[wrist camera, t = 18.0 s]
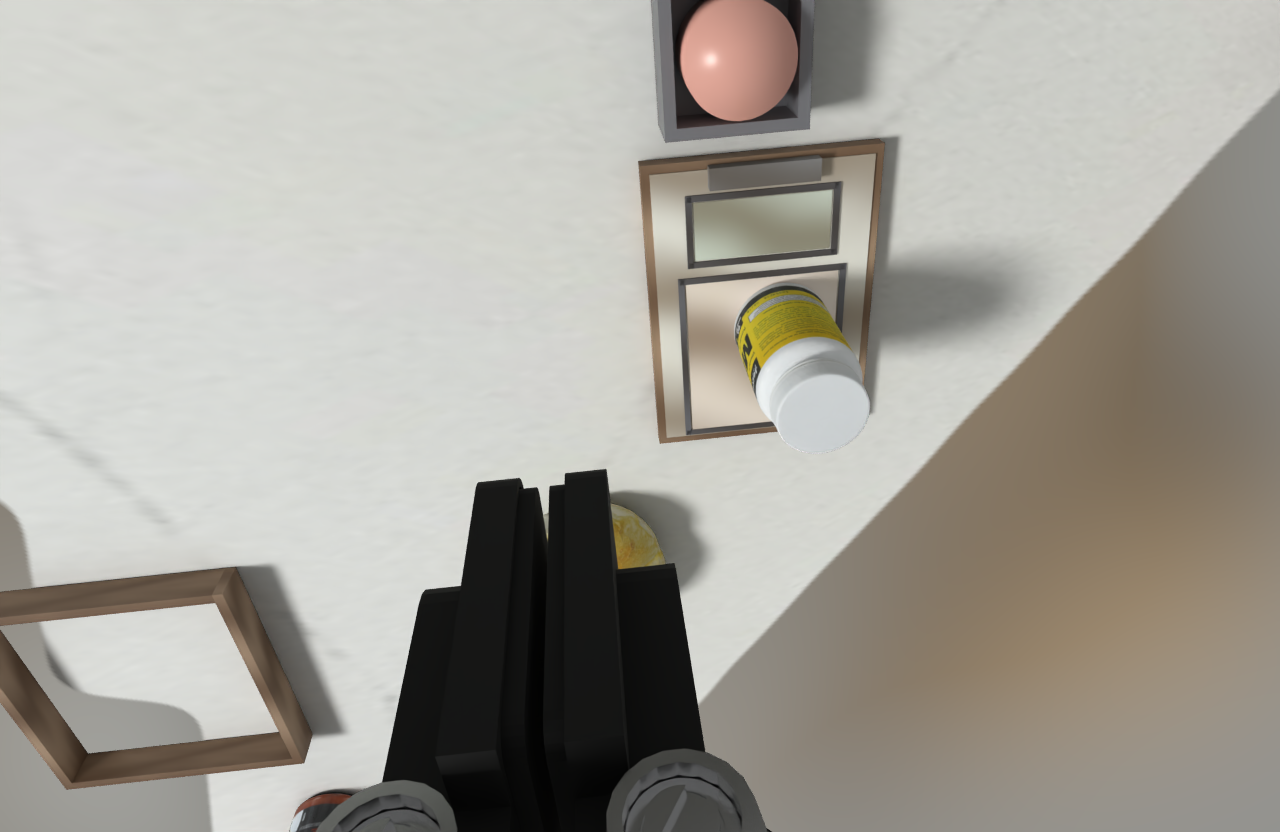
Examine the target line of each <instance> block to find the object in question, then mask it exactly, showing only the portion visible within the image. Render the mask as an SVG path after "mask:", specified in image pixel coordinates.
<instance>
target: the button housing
mask: <svg viewBox="0 0 1280 832" xmlns="http://www.w3.org/2000/svg"><path fill="white" fill-rule="evenodd" d="M699 1H700V0H651V7H652V25H653V42H654V59H655V76H656V93H657V110H658V125H659V128H660V130H661V133H662V136H663V138H664V141H665V143H667V142H678V141H688V140H699V139H709V138H720V137H731V136H741V135H752V134H763V133H773V132H784V131H794V130H805V129H810V108H811V82H812V56H813V30H814V4H815V0H764V1H766V2H768V3H769V4H771V5H773V6H774V7H776V8H777V9H778V10H779V11H780V12H781V13H782V14H783V15H784V16H785V17H786V18H787V20H788V21H789V23H790V25H791V27H792V29H793V31H794V34H795V37H796V41H797V47H798V62H797V68H796V73H795V76H794V79H793V81H792V83H791V85H790V88H789V89H788V91H787V92H786V94H785V95H784V97H783V98H782V99H781V100H780V101H779V102H778V103H777V104H776V105H775V106H774V107H773V108H772V109H770V110H769V111H768V112H766V113H764V114H763V115H761V116H758V117H756V118H753V119H750V120H744V121H728V120H724V119H720V118H718V117H715V116H713V115H711V114H710V113H708V112H707V111H706V110H704V109H703V108H702V107H701V106H700V105H699V104H698V103H697V102H696V100H695V99H694V97H693V96H692V94H691V93H690V91H689V89H688V88H687V86H686V84H685V83H684V81H683V79H682V77H681V75H680V73H679V70H678V67H677V63H676V56H675V46H676V38H677V35H678V31H679V28H680V26H681V23H682V22H683V20H684V18H685V16H686V15H687V13H688V12H689V11H690V9H691V8H692V7H693V6H694V5H695V4H696V3H698V2H699Z"/></svg>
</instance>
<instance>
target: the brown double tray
mask: <svg viewBox="0 0 1280 832" xmlns="http://www.w3.org/2000/svg"><path fill="white" fill-rule="evenodd" d="M884 147H885V143H884V142H883V141H882V140H880V139H869V140H859V141H848V142H838V143H827V144H817V145H806V146H796V147H785V148H774V149H764V150H753V151H743V152H732V153H722V154H711V155H701V156H690V157H679V158H669V159H658V160H648V161H638V163H639V177H640V190H641V204H642V218H643V231H644V245H645V259H646V272H647V286H648V300H649V313H650V327H651V341H652V354H653V368H654V382H655V395H656V409H657V423H658V436H659V442H660V444H661V443H671V442H680V441H690V440H700V439H710V438H719V437H729V436H739V435H748V434H758V433H768V432H778V431H777V428H776V426H775V425H774V423H773V422H772V421H771V420H769V419H768V418H767V416H766V415H765V414H764V413H763V411H762V410H761V408H760V406H759V404H758V402H757V399H756V396H755V393H754V391H753V388H752V385H751V383H750V380H749V377H748V375H747V372H746V369H745V366H744V364H743V361H742V358H741V356H740V353H739V350H738V348H737V345H736V342H735V337H734V325H735V320H736V317H737V314H738V312H739V310H740V308H741V307H742V305H743V304H744V303H745V302H746V301H747V299H748V298H749V297H751V296H752V295H753V294H754V293H756V292H757V291H759V290H761V289H762V288H764V287H767V286H769V285H772V284H777V283H796V284H800V285H803V286H805V287H807V288H809V289H811V290H812V291H813V292H815V293H816V294H817V295H818V296H819V297H820V299H821V300H822V301H823V303H824V304H825V306H826V308H827V310H828V311H829V313H830V315H831V316H832V318H833V320H834V321H835V323H836V325H837V326H838V328H839V330H840V331H841V333H842V335H843V336H844V338H845V340H846V341H847V343H848V344H849V346H850V348H851V349H852V351H853V352H854V354H855V356H856V358H857V359H858V361H859V364H860V366H861V370H862V378H863V382H862V384H863V386H864V376H865V364H866V353H867V342H868V330H869V319H870V307H871V296H872V284H873V273H874V261H875V250H876V239H877V227H878V216H879V204H880V193H881V181H882V170H883V158H884Z"/></svg>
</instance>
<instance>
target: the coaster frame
mask: <svg viewBox="0 0 1280 832" xmlns="http://www.w3.org/2000/svg"><path fill="white" fill-rule="evenodd" d="M210 603H216V605H217V607H218V609H219V611H220V613H221V615H222V617H223V619H224V621H225V623H226V625H227V627H228V629H229V631H230V633H231V635H232V637H233V639H234V642H235V644H236V646H237V648H238V650H239V652H240V654H241V656H242V658H243V660H244V662H245V664H246V666H247V668H248V670H249V672H250V674H251V676H252V678H253V680H254V682H255V684H256V686H257V688H258V690H259V692H260V694H261V696H262V698H263V700H264V702H265V704H266V706H267V708H268V710H269V712H270V714H271V716H272V719H273V721H274V723H275V725H276V727H277V729H278V731H279V733H271V734H262V735H253V736H244V737H234V738H225V739H216V740H207V741H198V742H189V743H180V744H171V745H162V746H153V747H145V748H135V749H126V750H117V751H108V752H98V753H91V754H90V753H89V754H88V753H87V751H86V750H85V749H84V747H83V746H82V744H81V743H80V741H79V740H78V739H77V737H76V736H75V734H74V733H73V732H72V730H71V729H70V727H69V726H68V725H67V723H66V722H65V720H64V719H63V718H62V716H61V715H60V714H59V712H58V710H57V709H56V708H55V706H54V705H53V703H52V702H51V701H50V699H49V698H48V696H47V695H46V694H45V692H44V691H43V689H42V688H41V687H40V685H39V684H38V682H37V681H36V680H35V678H34V677H33V676H32V674H31V673H30V671H29V670H28V668H27V667H26V665H25V664H24V663H23V661H22V660H21V659H20V657H19V656H18V654H17V653H16V651H15V650H14V649H13V647H12V646H11V644H10V643H9V641H8V640H7V639H6V637H5V636H4V634H3V633H2V632H1V630H0V703H1V704H2V705H3V707H4V708H5V710H6V711H7V712H8V713H9V715H10V716H11V717H12V718H13V720H14V721H15V723H16V724H17V725H18V727H19V728H20V729H21V730H22V732H23V733H24V734H25V736H26V737H27V738H28V739H29V741H30V742H31V744H33V746H34V748H35V749H36V750H37V751H38V753H39V754H40V755H41V757H42V758H43V759H44V761H45V762H46V763H47V765H48V766H49V767H50V768H51V770H52V771H53V772H54V774H55V775H56V776H57V778H58V779H59V780H60V782H61V783H62V784H63V785H64V787H65V788H66V789H67V790H68V789H77V788H86V787H95V786H104V785H113V784H121V783H131V782H140V781H148V780H158V779H167V778H176V777H185V776H193V775H203V774H212V773H221V772H230V771H239V770H248V769H257V768H266V767H275V766H284V765H293V764H302V763H304V762H305V759H306V755H307V752H308V749H309V745H310V742H311V739H312V735H313V734H312V732H311V730H310V728H309V725H308V723H307V721H306V719H305V717H304V715H303V712H302V710H301V708H300V706H299V704H298V702H297V699H296V697H295V695H294V693H293V691H292V688H291V686H290V684H289V682H288V680H287V678H286V675H285V673H284V671H283V669H282V667H281V665H280V662H279V660H278V658H277V656H276V654H275V651H274V649H273V647H272V645H271V643H270V641H269V638H268V636H267V634H266V632H265V630H264V628H263V625H262V623H261V621H260V619H259V617H258V614H257V612H256V610H255V608H254V606H253V604H252V601H251V599H250V597H249V595H248V593H247V591H246V588H245V586H244V584H243V582H242V580H241V577H240V575H239V573H238V571H237V569H236V567H232V568H222V569H213V570H203V571H194V572H184V573H175V574H165V575H156V576H146V577H137V578H127V579H118V580H108V581H99V582H89V583H80V584H70V585H61V586H51V587H42V588H32V589H23V590H13V591H4V592H0V626H3V625H13V624H22V623H32V622H41V621H50V620H60V619H69V618H79V617H88V616H97V615H107V614H116V613H126V612H135V611H144V610H154V609H163V608H173V607H182V606H191V605H201V604H210Z"/></svg>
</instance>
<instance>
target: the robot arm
mask: <svg viewBox="0 0 1280 832" xmlns="http://www.w3.org/2000/svg"><path fill="white" fill-rule="evenodd" d="M316 832H771V831H770V830H769V829H767V828H766V826H765V823H764V821H763V818H762V815H761V813H760V810H759V807H758V805H757V802H756V799H755V797H754V795H753V793H752V792H751V790H750V788H749V786H748V785H747V783H746V781H745V779H744V777H743V776H742V775H740V774H739V773H738V772H737V771H736V770H735V769H734V768H733V767H732V766H731V765H730V764H729V763H727V762H726V761H724V760H722V759H720V758H717V757H716V756H713V755H712V754H709V753H707V752H705V747H704V741H703V735H702V728H701V722H700V716H699V710H698V703H697V697H696V691H695V685H694V678H693V672H692V666H691V660H690V654H689V647H688V641H687V635H686V629H685V623H684V616H683V610H682V604H681V598H680V591H679V585H678V579H677V573H676V568H675V564H674V563H672V564H662V565H653V566H644V567H634V568H625V569H618V562H617V554H616V545H615V537H614V528H613V520H612V511H611V503H610V494H609V486H608V477H607V470H606V469H602V470H593V471H583V472H573V473H565V485H555V486H550V489H549V520H548V540H547V534H546V529H545V523H544V518H543V512H542V506H541V501H540V495H539V491H538V488H537V487H536V488H526V489H524V488H523V484H522V481H521V479H520V478H515V479H506V480H496V481H486V482H478V483H477V486H476V490H475V497H474V503H473V510H472V517H471V523H470V530H469V536H468V543H467V549H466V556H465V563H464V569H463V576H462V582H461V586H456V587H447V588H437V589H428V590H425V591H424V592H423V594H422V596H421V599H420V602H419V606H418V611H417V616H416V621H415V626H414V630H413V635H412V640H411V645H410V650H409V655H408V659H407V664H406V669H405V674H404V679H403V684H402V688H401V693H400V698H399V703H398V708H397V713H396V718H395V722H394V727H393V732H392V737H391V742H390V747H389V751H388V756H387V761H386V766H385V771H384V776H383V780H382V783H379V784H377V785H374V786H371V787H369V788H366V789H364V790H361V791H359V792H357V793H356V794H354V795H353V796H351V797H350V798H348V799H347V800H346V801H344V802H343V803H341V804H340V805H338V806H337V807H336V808H335V809H334V810H333V811H332V812H331V813H330V815H329V816H328V817H327V818H326V819H325V820H324V821H323V822H322V823H321V824H320V825H319V827H318V829H317V830H316Z"/></svg>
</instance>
